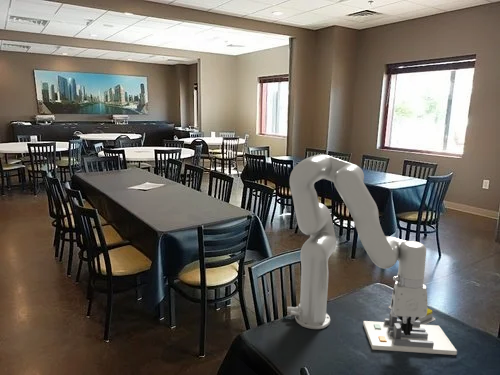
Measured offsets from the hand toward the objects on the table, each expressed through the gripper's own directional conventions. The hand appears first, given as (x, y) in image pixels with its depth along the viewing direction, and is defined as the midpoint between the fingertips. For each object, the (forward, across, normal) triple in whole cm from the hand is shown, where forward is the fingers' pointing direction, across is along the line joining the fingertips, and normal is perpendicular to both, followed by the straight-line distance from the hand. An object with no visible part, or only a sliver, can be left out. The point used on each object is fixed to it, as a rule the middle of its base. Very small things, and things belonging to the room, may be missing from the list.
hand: (406, 332), depth 120 cm
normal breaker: (+3, -2, +7) cm, 8 cm away
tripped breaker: (+3, -3, 0) cm, 4 cm away
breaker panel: (+5, +2, +4) cm, 6 cm away
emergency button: (+5, +9, +21) cm, 23 cm away
